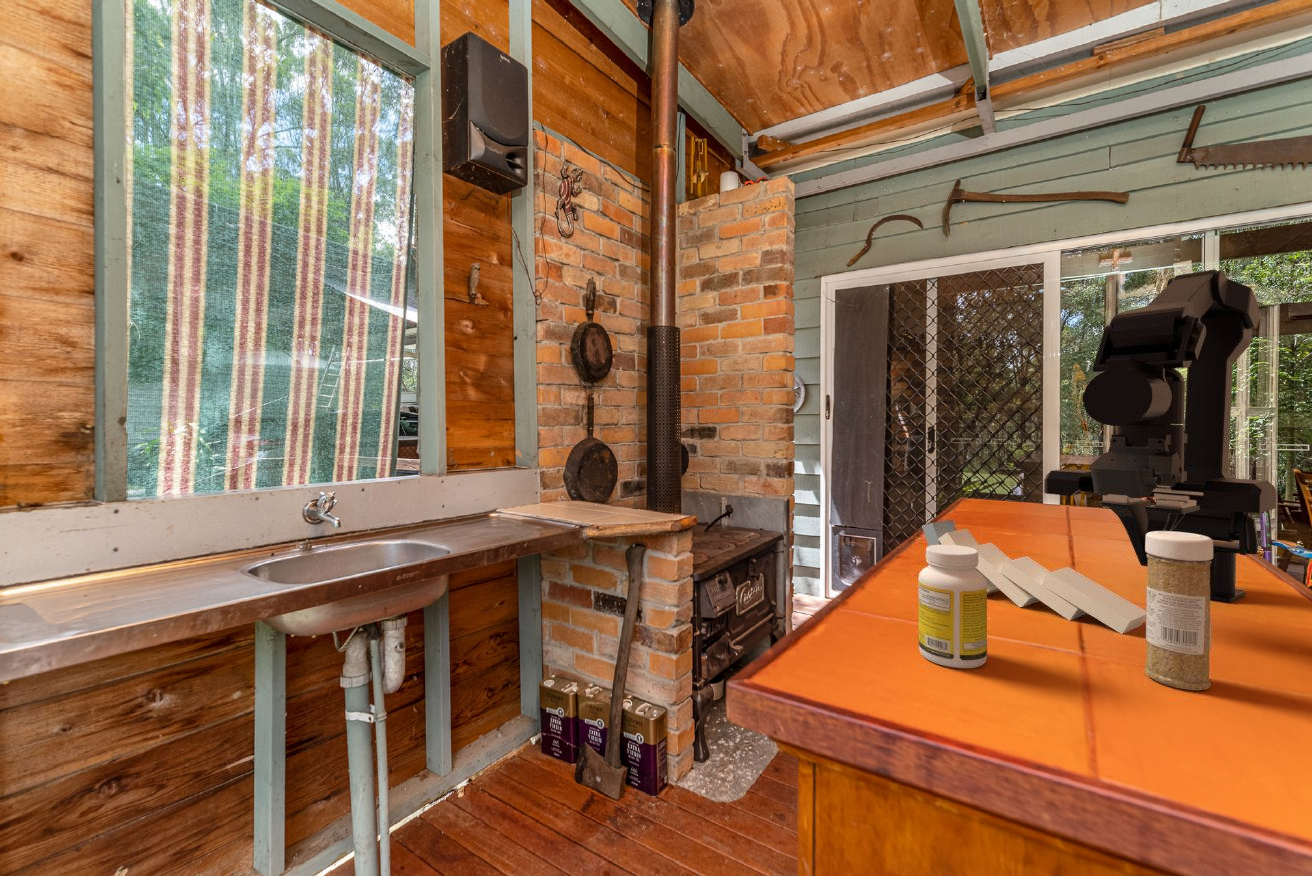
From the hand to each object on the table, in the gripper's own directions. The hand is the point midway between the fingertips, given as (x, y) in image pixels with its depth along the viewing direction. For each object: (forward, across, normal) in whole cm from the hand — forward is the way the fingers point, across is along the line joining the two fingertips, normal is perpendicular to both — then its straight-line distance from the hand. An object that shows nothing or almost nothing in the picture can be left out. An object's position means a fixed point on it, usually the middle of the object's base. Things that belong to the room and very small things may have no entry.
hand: (1147, 565), depth 64 cm
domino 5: (+7, -1, 0) cm, 7 cm away
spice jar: (+8, +6, -12) cm, 16 cm away
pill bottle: (+8, -8, -24) cm, 26 cm away
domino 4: (+7, -6, 0) cm, 9 cm away
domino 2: (+7, -17, 0) cm, 18 cm away
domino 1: (+7, -22, 0) cm, 23 cm away
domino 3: (+7, -12, 0) cm, 13 cm away
